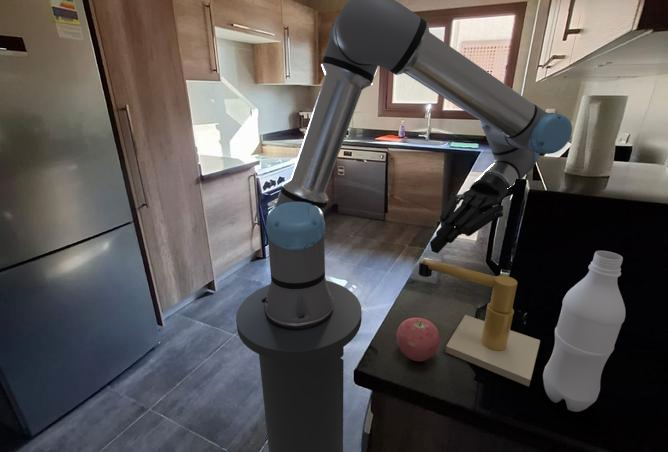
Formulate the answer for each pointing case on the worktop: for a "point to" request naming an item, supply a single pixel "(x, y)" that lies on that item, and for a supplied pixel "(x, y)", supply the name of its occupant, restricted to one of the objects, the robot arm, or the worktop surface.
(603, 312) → the water bottle
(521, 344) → the tap stand
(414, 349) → the apple
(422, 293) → the worktop surface
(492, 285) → the nozzle
